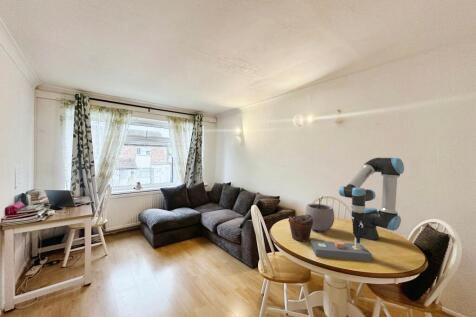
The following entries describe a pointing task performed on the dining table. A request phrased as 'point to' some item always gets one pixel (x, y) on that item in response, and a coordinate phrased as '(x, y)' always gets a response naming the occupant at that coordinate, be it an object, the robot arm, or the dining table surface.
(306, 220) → the brown tapered container
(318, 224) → the plant pot
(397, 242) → the dining table surface
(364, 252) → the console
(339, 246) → the terracotta button
